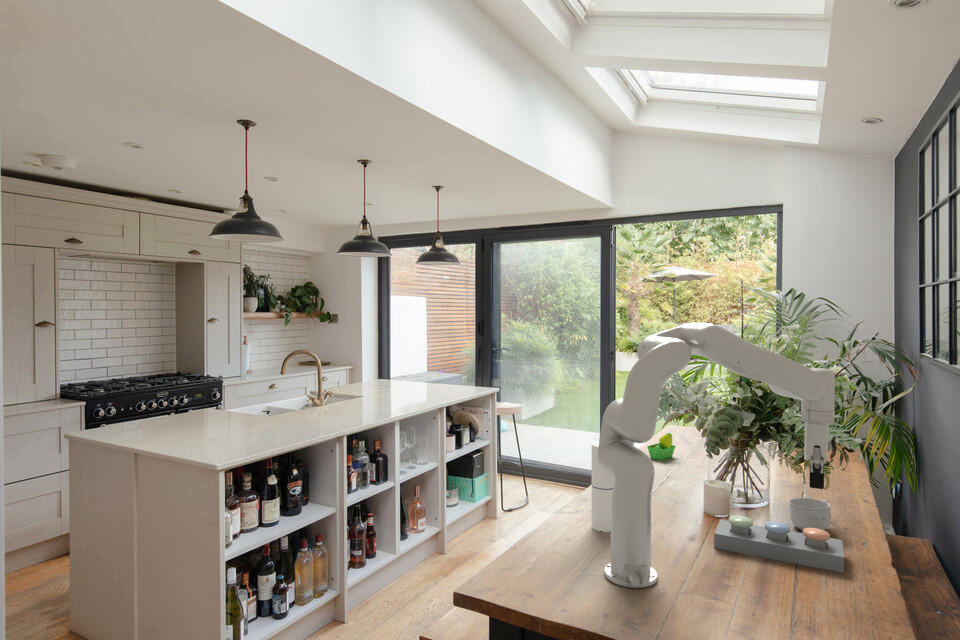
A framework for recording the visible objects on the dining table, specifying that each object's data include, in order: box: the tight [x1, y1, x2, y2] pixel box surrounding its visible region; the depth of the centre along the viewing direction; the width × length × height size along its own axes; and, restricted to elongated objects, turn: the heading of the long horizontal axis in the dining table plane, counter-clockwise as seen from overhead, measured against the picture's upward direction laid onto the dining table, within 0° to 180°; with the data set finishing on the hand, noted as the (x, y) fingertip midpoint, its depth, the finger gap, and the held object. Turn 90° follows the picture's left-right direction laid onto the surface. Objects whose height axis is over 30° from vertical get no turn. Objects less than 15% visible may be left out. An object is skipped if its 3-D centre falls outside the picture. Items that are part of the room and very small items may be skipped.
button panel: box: [713, 518, 845, 574], centre depth 155 cm, size 30×12×4 cm, turn 60°
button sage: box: [728, 515, 754, 535], centre depth 160 cm, size 6×6×4 cm
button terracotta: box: [802, 528, 831, 549], centre depth 151 cm, size 6×6×4 cm
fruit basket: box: [646, 432, 676, 461], centre depth 250 cm, size 11×9×11 cm
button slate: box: [764, 521, 791, 542], centre depth 155 cm, size 6×6×4 cm
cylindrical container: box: [591, 441, 614, 533], centre depth 172 cm, size 7×7×25 cm
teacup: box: [788, 497, 832, 531], centre depth 171 cm, size 14×11×8 cm
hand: (816, 483), depth 150 cm, fingers open, 6 cm apart
